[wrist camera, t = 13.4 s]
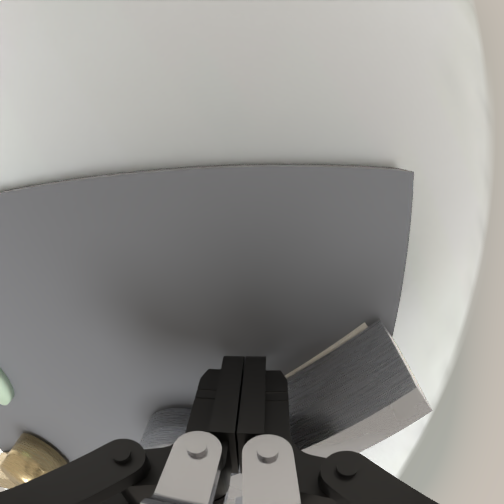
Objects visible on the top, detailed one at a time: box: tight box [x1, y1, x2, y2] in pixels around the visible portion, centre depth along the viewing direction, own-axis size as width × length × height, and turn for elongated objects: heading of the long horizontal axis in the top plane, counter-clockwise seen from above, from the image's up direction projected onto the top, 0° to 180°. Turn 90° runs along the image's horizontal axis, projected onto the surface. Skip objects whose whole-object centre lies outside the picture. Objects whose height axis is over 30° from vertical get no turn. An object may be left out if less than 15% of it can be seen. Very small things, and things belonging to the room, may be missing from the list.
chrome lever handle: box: [139, 319, 432, 504], centre depth 11 cm, size 14×5×4 cm, turn 130°
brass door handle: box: [0, 433, 68, 489], centre depth 16 cm, size 14×5×4 cm, turn 123°
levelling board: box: [0, 164, 414, 504], centre depth 16 cm, size 29×33×2 cm
